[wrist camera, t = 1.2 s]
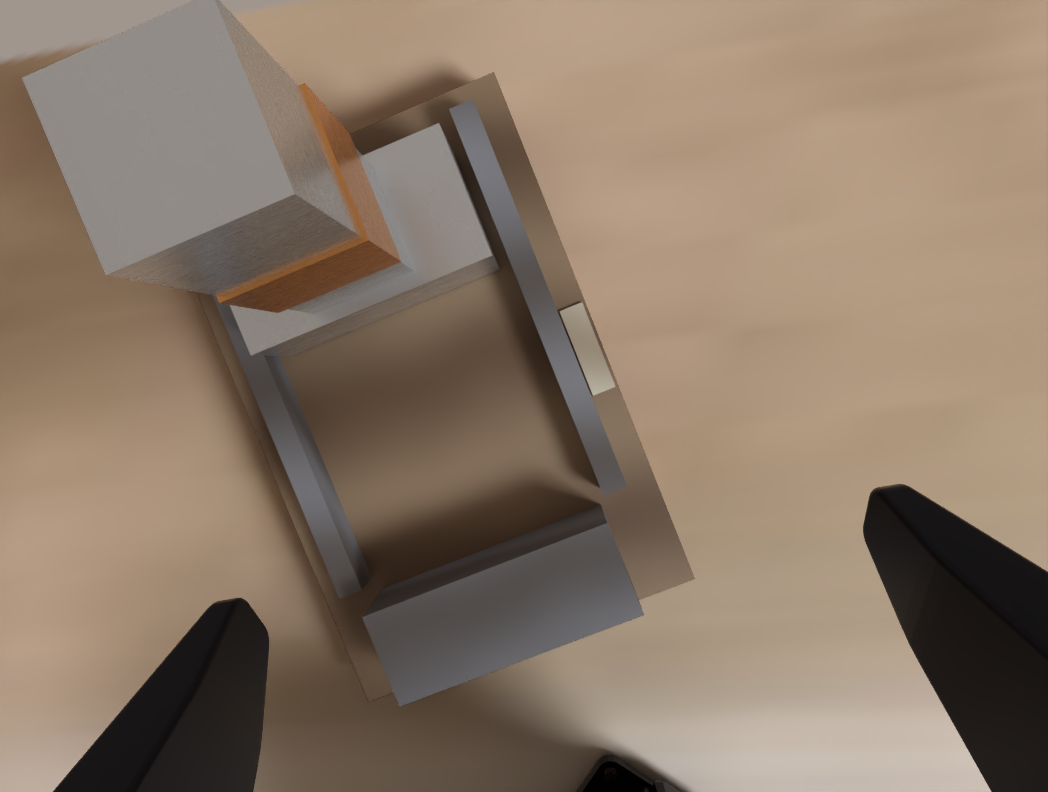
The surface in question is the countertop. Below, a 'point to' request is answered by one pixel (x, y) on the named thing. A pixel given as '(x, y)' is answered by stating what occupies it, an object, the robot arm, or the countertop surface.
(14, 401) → the countertop surface
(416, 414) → the base
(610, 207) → the countertop surface
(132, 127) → the sliding jaw
